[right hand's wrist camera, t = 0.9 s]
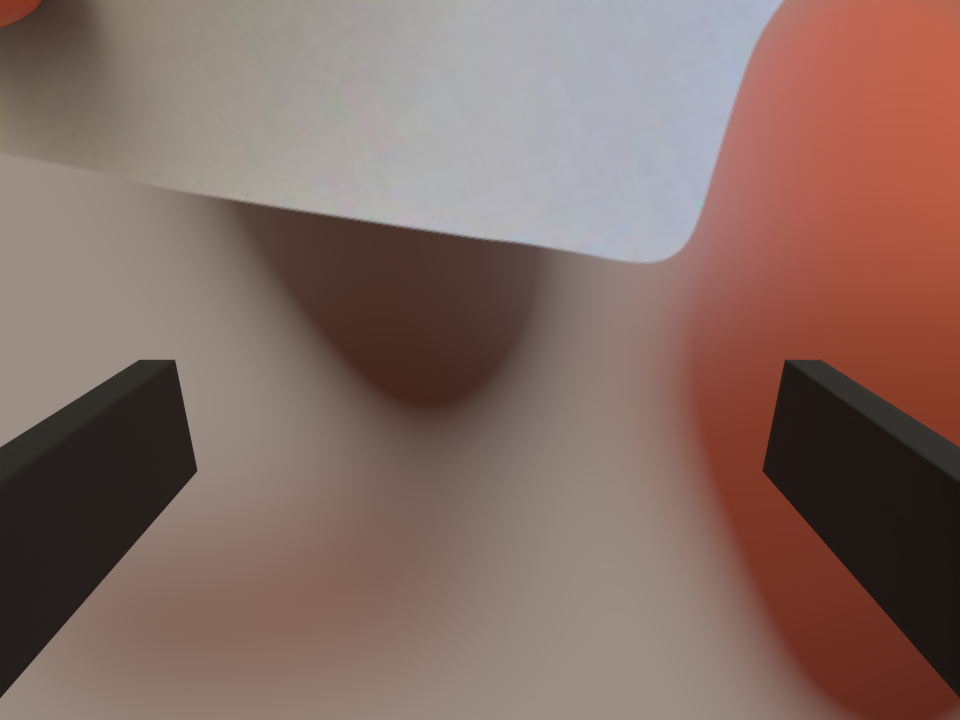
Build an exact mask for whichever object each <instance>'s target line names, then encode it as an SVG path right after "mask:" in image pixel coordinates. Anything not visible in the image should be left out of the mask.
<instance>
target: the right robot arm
mask: <svg viewBox="0 0 960 720" xmlns="http://www.w3.org/2000/svg"><path fill="white" fill-rule="evenodd" d="M196 472H197V467H196V462H195V457H194V452H193V447H192V442H191V437H190V432H189V427H188V422H187V417H186V412H185V407H184V402H183V397H182V392H181V387H180V382H179V377H178V372H177V367H176V362H175V360H138V361H137V362H135V363H134V364H132V365H130V366H129V367H127V368H126V369H124V370H122V371H121V372H119V373H118V374H116V375H115V376H113V377H111V378H110V379H108V380H107V381H105V382H103V383H102V384H100V385H99V386H97V387H95V388H94V389H92V390H91V391H89V392H88V393H86V394H84V395H83V396H81V397H80V398H78V399H76V400H75V401H73V402H72V403H70V404H68V405H67V406H65V407H64V408H62V409H61V410H59V411H57V412H56V413H54V414H53V415H51V416H49V417H48V418H46V419H45V420H43V421H41V422H40V423H38V424H37V425H35V426H34V427H32V428H30V429H29V430H27V431H26V432H24V433H23V434H21V435H19V436H18V437H16V438H15V439H13V440H11V441H10V442H8V443H7V444H5V445H3V446H2V447H0V698H1V697H2V696H3V694H4V693H5V692H6V691H7V690H8V689H9V687H10V686H11V685H12V684H13V683H14V682H15V681H16V679H17V678H18V677H19V676H20V675H21V674H22V672H23V671H24V670H25V669H26V668H27V667H28V666H29V664H30V663H31V662H32V661H33V660H34V659H35V658H36V656H37V655H38V654H39V653H40V652H41V651H42V649H43V648H44V647H45V646H46V645H47V644H48V643H49V641H50V640H51V639H52V638H53V637H54V636H55V634H56V633H57V632H58V631H59V630H60V629H61V628H62V626H63V625H64V624H65V623H66V622H67V621H68V619H69V618H70V617H71V616H72V615H73V614H74V613H75V611H76V610H77V609H78V608H79V607H80V606H81V604H82V603H83V602H84V601H85V600H86V599H87V598H88V596H89V595H90V594H91V593H92V592H93V591H94V589H95V588H96V587H97V586H98V585H99V584H100V583H101V581H102V580H103V579H104V578H105V577H106V576H107V575H108V573H109V572H110V571H111V570H112V569H113V568H114V566H115V565H116V564H117V563H118V562H119V561H120V560H121V558H122V557H123V556H124V555H125V554H126V553H127V551H128V550H129V549H130V548H131V547H132V546H133V545H134V543H135V542H136V541H137V540H138V539H139V538H140V537H141V535H142V534H143V533H144V532H145V531H146V530H147V528H148V527H149V526H150V525H151V524H152V523H153V521H154V520H155V519H156V518H157V517H158V516H159V515H160V513H161V512H162V511H163V510H164V509H165V508H166V507H167V505H168V504H169V503H170V502H171V501H172V500H173V498H174V497H175V496H176V495H177V494H178V493H179V492H180V490H181V489H182V488H183V487H184V486H185V485H186V484H187V482H188V481H189V480H190V479H191V478H192V477H193V475H194V474H195V473H196ZM763 472H764V473H765V474H766V475H767V477H768V478H769V479H770V480H771V481H772V482H773V484H774V485H775V486H776V487H777V488H778V489H779V490H780V492H781V493H782V494H783V495H784V496H785V497H786V498H787V500H788V501H789V502H790V503H791V504H792V505H793V507H794V508H795V509H796V510H797V511H798V512H799V513H800V515H801V516H802V517H803V518H804V519H805V520H806V522H807V523H808V524H809V525H810V526H811V527H812V528H813V530H814V531H815V532H816V533H817V534H818V535H819V537H820V538H821V539H822V540H823V541H824V542H825V543H826V545H827V546H828V547H829V548H830V549H831V550H832V551H833V553H834V554H835V555H836V556H837V557H838V558H839V560H840V561H841V562H842V563H843V564H844V565H845V566H846V568H847V569H848V570H849V571H850V572H851V573H852V575H853V576H854V577H855V578H856V579H857V580H858V581H859V583H860V584H861V585H862V586H863V587H864V588H865V590H866V591H867V592H868V593H869V594H870V595H871V596H872V598H873V599H874V600H875V601H876V602H877V603H878V605H879V606H880V607H881V608H882V609H883V610H884V611H885V613H886V614H887V615H888V616H889V617H890V618H891V619H892V621H893V622H894V623H895V624H896V625H897V626H898V628H899V629H900V630H901V631H902V632H903V633H904V634H905V636H906V637H907V638H908V639H909V640H910V641H911V643H912V644H913V645H914V646H915V647H916V648H917V649H918V651H919V652H920V653H921V654H922V655H923V656H924V657H925V659H926V660H927V661H928V662H929V663H930V664H931V666H932V667H933V668H934V669H935V670H936V671H937V672H938V674H939V675H940V676H941V677H942V678H943V679H944V681H945V682H946V683H947V684H948V685H949V686H950V687H951V689H952V690H953V691H954V692H955V693H956V694H957V696H958V697H959V698H960V447H958V446H957V445H955V444H953V443H952V442H950V441H949V440H947V439H945V438H944V437H942V436H941V435H939V434H937V433H936V432H934V431H933V430H931V429H930V428H928V427H926V426H925V425H923V424H922V423H920V422H918V421H917V420H915V419H914V418H912V417H911V416H909V415H907V414H906V413H904V412H903V411H901V410H899V409H898V408H896V407H895V406H893V405H892V404H890V403H888V402H887V401H885V400H884V399H882V398H880V397H879V396H877V395H876V394H874V393H872V392H871V391H869V390H868V389H866V388H864V387H863V386H861V385H860V384H858V383H857V382H855V381H853V380H852V379H850V378H849V377H847V376H845V375H844V374H842V373H841V372H839V371H838V370H836V369H834V368H833V367H831V366H829V365H828V364H826V363H825V362H823V361H822V360H785V363H784V367H783V372H782V377H781V383H780V387H779V392H778V397H777V402H776V407H775V412H774V417H773V422H772V427H771V432H770V437H769V442H768V447H767V452H766V457H765V462H764V467H763Z"/></svg>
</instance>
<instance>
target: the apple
mask: <svg viewBox="0 0 960 720" xmlns="http://www.w3.org/2000/svg"><path fill="white" fill-rule="evenodd" d="M41 1H42V0H0V28H1V27H4V26H6V25H9V24H11V23H13V22H16V21H18V20H20V19H21V18H23V17H25V16H26V15H28V14H30V13H31V12H32V11H33V10H35V8H36V7H37V6H38V5H39V4H40V3H41Z"/></svg>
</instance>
